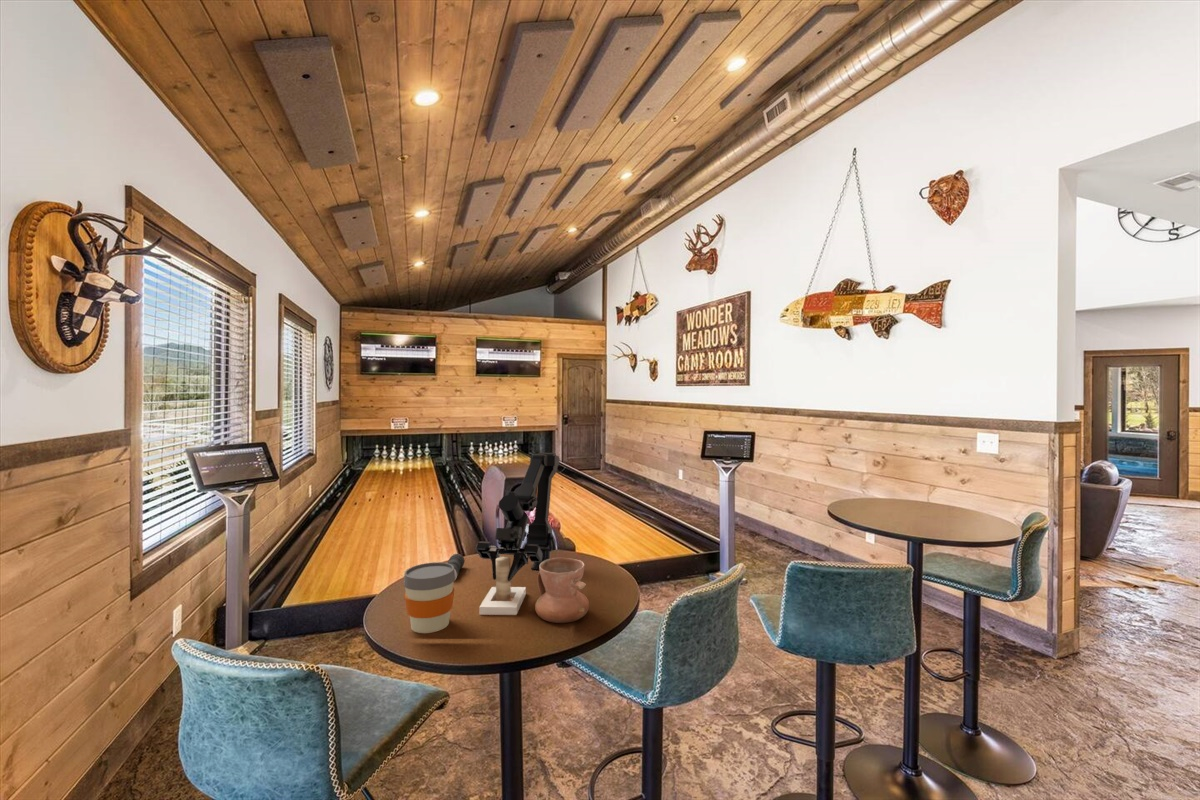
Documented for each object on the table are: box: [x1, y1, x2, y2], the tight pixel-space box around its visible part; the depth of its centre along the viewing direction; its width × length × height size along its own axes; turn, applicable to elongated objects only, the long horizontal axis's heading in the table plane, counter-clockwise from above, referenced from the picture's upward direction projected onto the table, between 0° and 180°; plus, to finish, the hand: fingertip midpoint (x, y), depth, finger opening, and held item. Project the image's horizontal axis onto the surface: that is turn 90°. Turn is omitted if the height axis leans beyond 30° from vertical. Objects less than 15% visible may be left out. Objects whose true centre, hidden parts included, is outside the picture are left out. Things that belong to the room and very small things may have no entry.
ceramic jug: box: [534, 557, 590, 624], centre depth 138 cm, size 18×14×14 cm
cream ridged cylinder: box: [495, 556, 512, 601], centre depth 144 cm, size 4×4×12 cm
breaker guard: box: [478, 586, 527, 616], centre depth 144 cm, size 14×10×3 cm
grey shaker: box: [447, 553, 466, 581], centre depth 170 cm, size 15×5×5 cm, turn 5°
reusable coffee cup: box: [403, 561, 456, 634], centre depth 131 cm, size 13×13×15 cm
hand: (501, 579), depth 142 cm, fingers closed on cream ridged cylinder, 4 cm apart
